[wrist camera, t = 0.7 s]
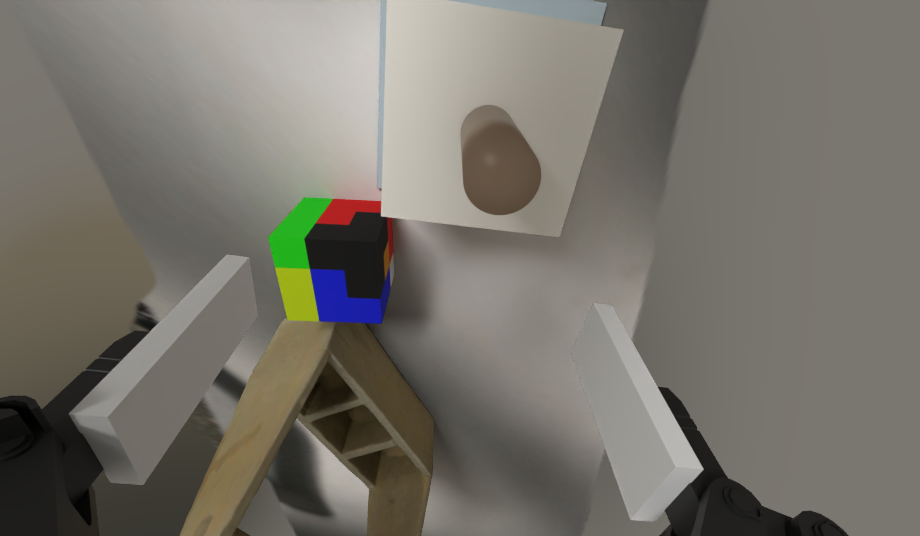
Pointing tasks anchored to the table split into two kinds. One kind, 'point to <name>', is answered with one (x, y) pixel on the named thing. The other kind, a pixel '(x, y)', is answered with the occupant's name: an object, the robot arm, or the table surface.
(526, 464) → the table surface
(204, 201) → the table surface
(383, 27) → the mat
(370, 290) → the puzzle toy
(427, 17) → the cover box
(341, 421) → the caddy
